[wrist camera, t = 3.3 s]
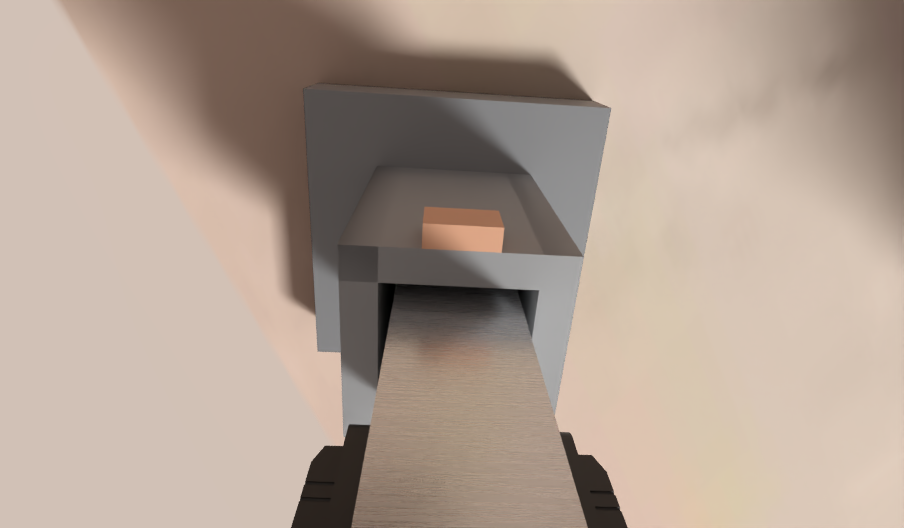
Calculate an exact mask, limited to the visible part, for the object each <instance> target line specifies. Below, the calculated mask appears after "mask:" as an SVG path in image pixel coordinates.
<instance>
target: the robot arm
mask: <svg viewBox="0 0 904 528" xmlns="http://www.w3.org/2000/svg"><path fill="white" fill-rule="evenodd" d="M369 429H370V425H359V424H349V426H348V429H347V433H346V437H345V441H344V445H343V446H324V448H323V449H322V450H321V451H320V452H319V454H318V455H317V456H316V457H315V458H314V459H313V461H312V462H311V465H310V468H309V471H308V474H307V478H306V481H305V485H304V487H303V491H302V494H301V499H300V501H299V504H298V507H297V510H296V514H295V517H294V520H293V523H292V527H291V528H351V526H352V520H353V515H354V510H355V504H356V499H357V494H358V488H359V483H360V477H361V472H362V467H363V461H364V456H365V451H366V445H367V440H368V434H369ZM560 436H561V439H562V443H563V446H564V449H565V453H566V456H567V459H568V463H569V466H570V469H571V473H572V476H573V480H574V483H575V486H576V490H577V493H578V496H579V500H580V503H581V507H582V510H583V513H584V517H585V520H586V523H587V527H588V528H627V525H626V522H625V520H624V517H623V514H622V512H621V511H620V506H619V504H618V501H617V498H616V496H615V495H614V491H613V488H612V485H611V483H610V480H609V477H608V475H607V472H606V471H605V470H604V469H603V467H602V466H601V465H600V464H599V463H598V462H597V461H596V459H595V458H594V457H593V456H592V455H578V453H577V450H576V447H575V444H574V441H573V438H572V435H571V434H570V433H569V432H560Z"/></svg>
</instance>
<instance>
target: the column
mask: <svg viewBox="0 0 904 528" xmlns="http://www.w3.org/2000/svg"><path fill="white" fill-rule="evenodd" d="M351 528H588V527H587V523H586V520H585V517H584V513H583V510H582V507H581V503H580V500H579V496H578V493H577V490H576V486H575V483H574V480H573V476H572V473H571V469H570V466H569V463H568V459H567V456H566V453H565V449H564V446H563V443H562V439H561V436H560V432H559V429H558V426H557V422H556V419H555V416H554V412H553V409H552V405H551V402H550V399H549V395H548V392H547V389H546V385H545V382H544V378H543V375H542V372H541V368H540V365H539V362H538V358H537V355H536V351H535V348H534V345H533V341H532V338H531V335H530V331H529V328H528V324H527V321H526V318H525V314H524V311H523V308H522V304H521V301H520V298H519V294H518V291H517V289H500V288H479V287H458V286H438V285H417V284H396V289H395V295H394V300H393V305H392V311H391V316H390V322H389V327H388V332H387V338H386V343H385V348H384V354H383V359H382V365H381V370H380V375H379V381H378V386H377V391H376V397H375V402H374V408H373V413H372V418H371V424H370V429H369V434H368V440H367V445H366V451H365V456H364V461H363V467H362V472H361V477H360V483H359V488H358V494H357V499H356V504H355V510H354V515H353V520H352V526H351Z"/></svg>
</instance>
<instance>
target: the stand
mask: <svg viewBox="0 0 904 528" xmlns="http://www.w3.org/2000/svg"><path fill="white" fill-rule="evenodd" d="M303 94H304V112H305V130H306V148H307V166H308V185H309V203H310V221H311V239H312V257H313V275H314V294H315V312H316V330H317V348H318V351H320V352H341V373H342V404H343V434H344V437H346V433H347V429H348V426H349V424H359V425H370V424H371V418H372V413H373V408H374V402H375V397H376V391H377V386H378V381H379V375H380V370H381V365H382V359H383V354H384V348H385V343H386V338H387V332H388V327H389V322H390V316H391V311H392V305H393V300H394V295H395V289H396V284H417V285H438V286H458V287H479V288H500V289H517V291H518V294H519V298H520V301H521V304H522V308H523V311H524V314H525V318H526V321H527V324H528V328H529V331H530V335H531V338H532V341H533V345H534V348H535V351H536V355H537V358H538V362H539V365H540V368H541V372H542V375H543V378H544V382H545V385H546V389H547V392H548V395H549V399H550V402H551V405H552V409H553V412H554V416H555V410H556V405H557V400H558V394H559V389H560V383H561V378H562V372H563V367H564V362H565V356H566V351H567V345H568V340H569V334H570V329H571V324H572V318H573V313H574V307H575V302H576V297H577V291H578V286H579V280H580V275H581V269H582V264H583V259H584V253H585V248H586V242H587V237H588V231H589V226H590V220H591V215H592V210H593V204H594V199H595V193H596V188H597V182H598V177H599V172H600V166H601V161H602V155H603V150H604V144H605V139H606V134H607V128H608V123H609V117H610V112H611V108H609V107H607V106H605V105H602V104H600V103H597V102H595V101H589V100H573V99H558V98H542V97H527V96H511V95H495V94H480V93H464V92H449V91H433V90H417V89H402V88H386V87H371V86H355V85H339V84H324V83H317V84H315V85H312V86H309V87H306V88H304V89H303Z"/></svg>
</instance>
